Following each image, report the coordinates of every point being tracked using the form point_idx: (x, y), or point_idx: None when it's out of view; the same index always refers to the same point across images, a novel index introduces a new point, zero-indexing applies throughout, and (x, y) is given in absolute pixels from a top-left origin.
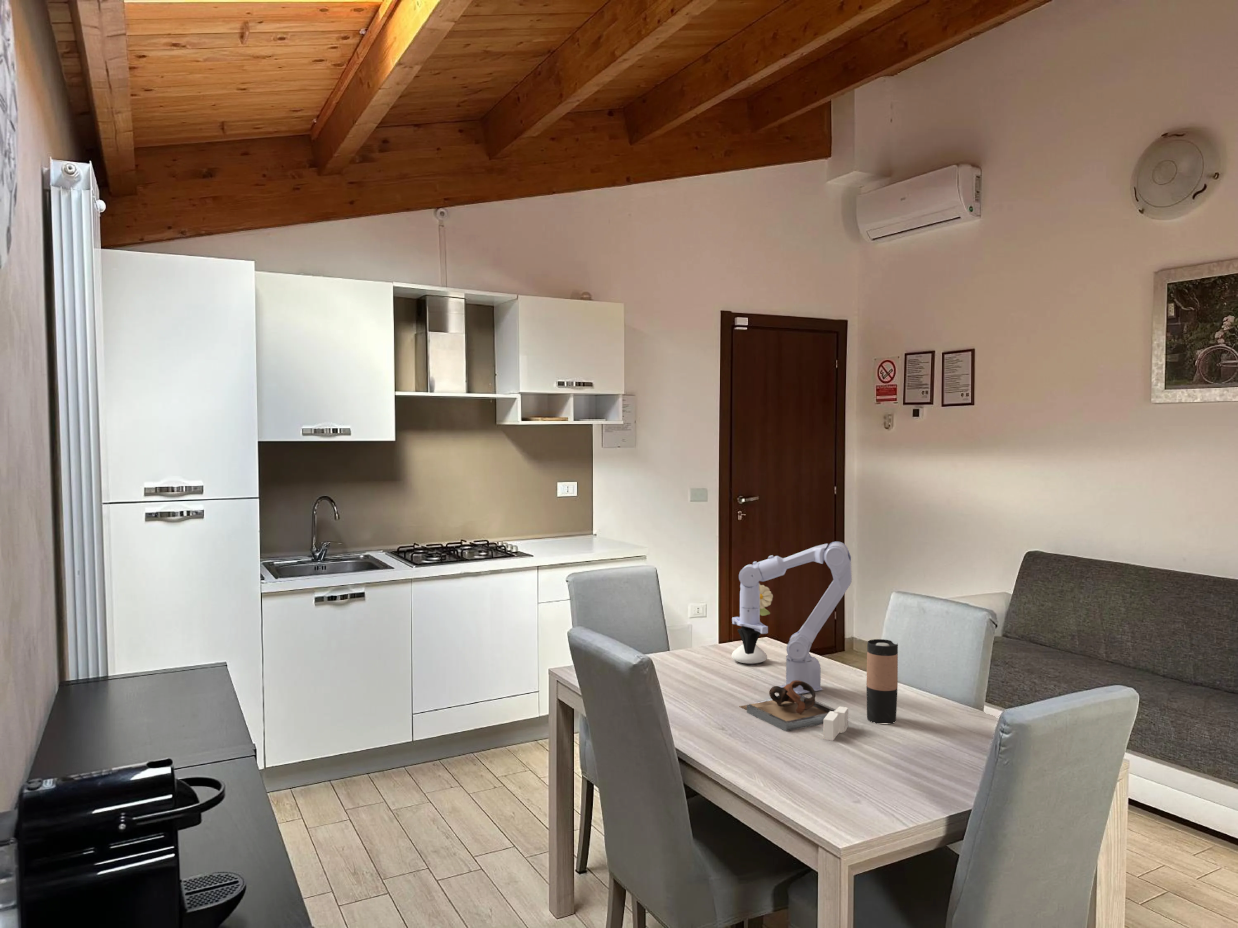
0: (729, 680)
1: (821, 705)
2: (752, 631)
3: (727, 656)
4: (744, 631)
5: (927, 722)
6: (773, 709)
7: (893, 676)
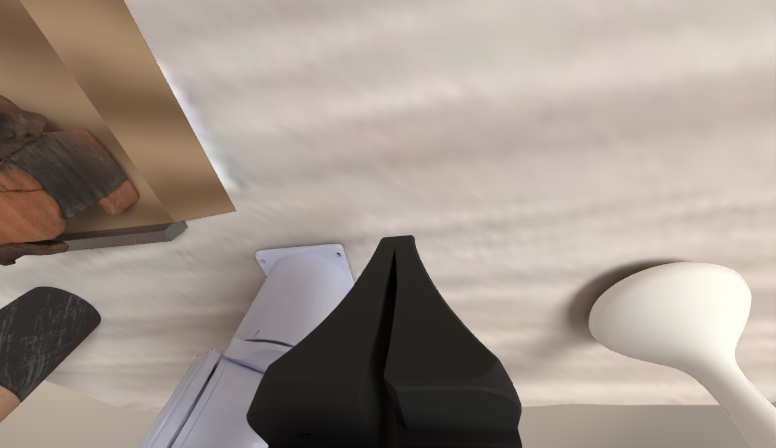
0: (503, 122)
1: (62, 240)
2: (267, 439)
3: (770, 270)
4: (297, 394)
5: (74, 353)
6: (26, 82)
7: None
